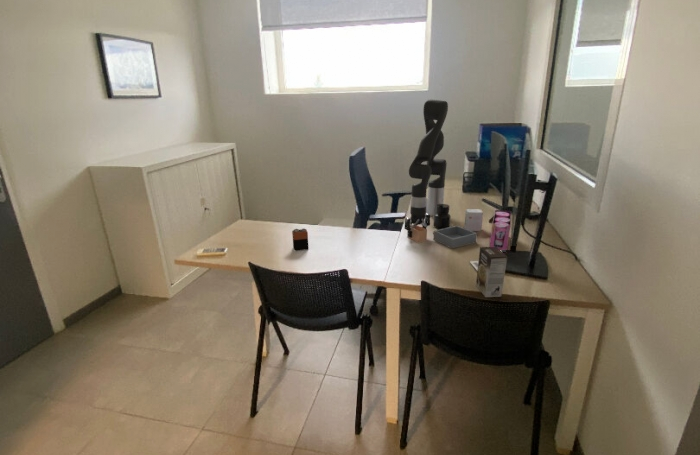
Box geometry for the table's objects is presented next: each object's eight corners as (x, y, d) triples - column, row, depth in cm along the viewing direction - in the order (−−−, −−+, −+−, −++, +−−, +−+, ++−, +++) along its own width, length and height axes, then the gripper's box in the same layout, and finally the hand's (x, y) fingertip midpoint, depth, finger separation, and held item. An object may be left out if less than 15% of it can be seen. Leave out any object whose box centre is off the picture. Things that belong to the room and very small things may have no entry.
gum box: (506, 254, 172) (510, 226, 167) (488, 252, 175) (491, 224, 170) (508, 236, 192) (511, 211, 188) (491, 234, 195) (494, 209, 191)
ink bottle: (448, 223, 211) (450, 203, 207) (452, 229, 203) (454, 207, 199) (431, 223, 212) (432, 203, 208) (433, 229, 203) (435, 208, 199)
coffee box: (475, 285, 145) (479, 246, 139) (491, 284, 145) (496, 245, 140) (485, 297, 136) (490, 256, 131) (502, 296, 137) (508, 256, 131)
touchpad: (486, 263, 165) (487, 258, 164) (501, 279, 150) (502, 274, 150) (469, 263, 164) (469, 259, 163) (482, 279, 150) (482, 274, 149)
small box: (479, 227, 205) (481, 209, 201) (481, 231, 200) (483, 212, 196) (463, 227, 206) (465, 208, 202) (465, 231, 200) (467, 212, 197)
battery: (293, 247, 182) (291, 228, 179) (307, 246, 184) (306, 226, 180) (294, 251, 178) (293, 231, 175) (308, 249, 180) (307, 229, 176)
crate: (433, 239, 190) (433, 231, 188) (456, 233, 197) (456, 225, 195) (452, 248, 179) (453, 239, 177) (475, 242, 186) (476, 233, 184)
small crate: (407, 237, 194) (407, 226, 192) (414, 235, 196) (415, 224, 194) (418, 242, 186) (419, 231, 184) (426, 240, 189) (427, 229, 186)
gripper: (424, 200, 191) (423, 230, 197) (402, 205, 185) (400, 236, 190) (434, 204, 185) (432, 235, 191) (411, 209, 179) (410, 240, 184)
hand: (416, 235), depth 190 cm, fingers open, 8 cm apart
